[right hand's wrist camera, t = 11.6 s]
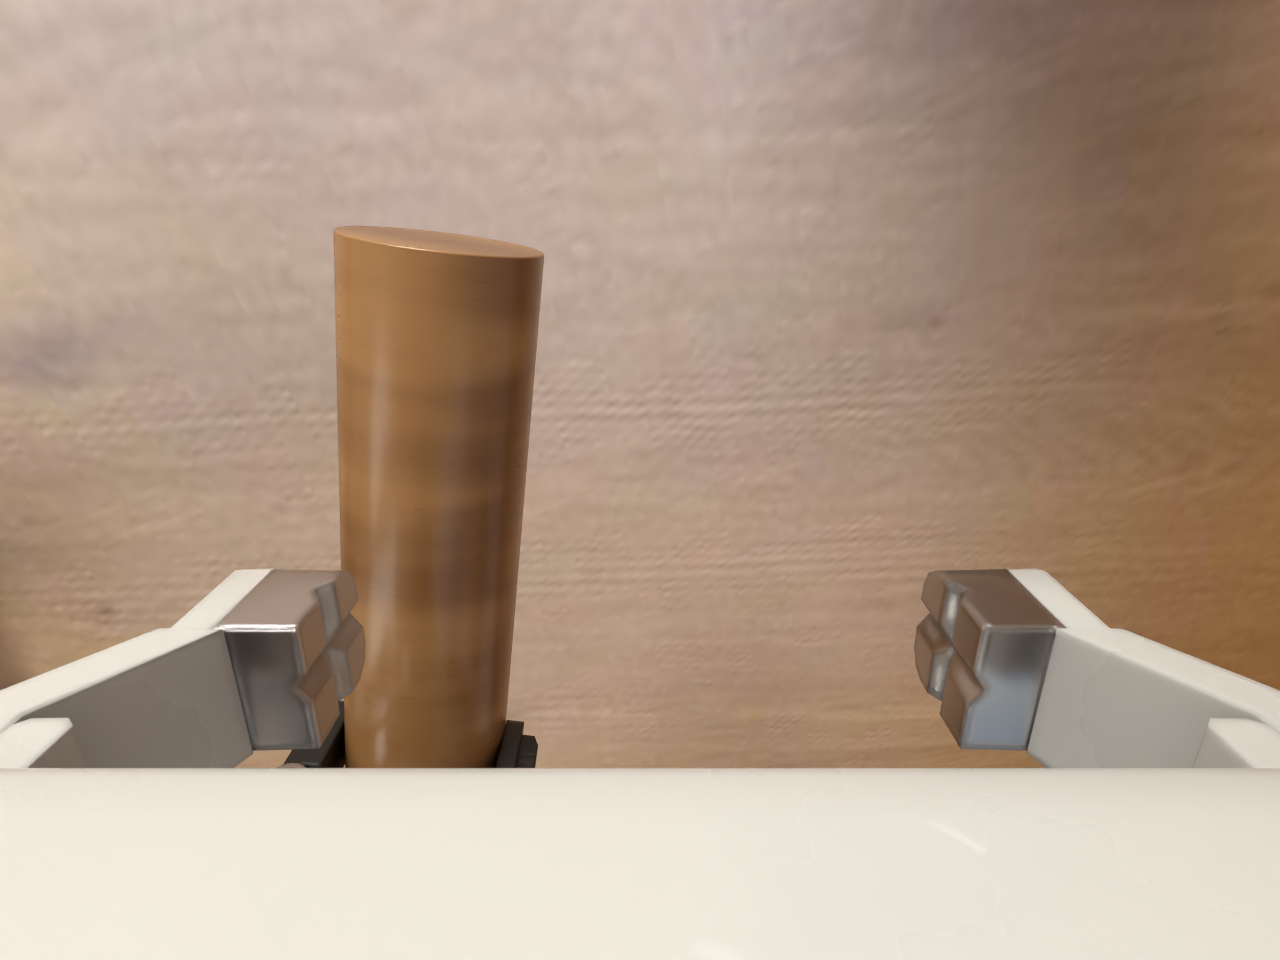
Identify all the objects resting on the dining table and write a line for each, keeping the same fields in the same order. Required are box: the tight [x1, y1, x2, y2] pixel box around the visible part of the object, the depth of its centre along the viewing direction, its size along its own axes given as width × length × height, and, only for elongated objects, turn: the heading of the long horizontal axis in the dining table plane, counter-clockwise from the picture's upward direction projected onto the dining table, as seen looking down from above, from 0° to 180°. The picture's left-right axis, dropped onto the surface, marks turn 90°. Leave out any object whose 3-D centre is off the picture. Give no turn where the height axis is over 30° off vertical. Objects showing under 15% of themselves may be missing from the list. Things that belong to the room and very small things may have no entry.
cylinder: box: [334, 226, 544, 768], centre depth 25 cm, size 23×6×6 cm, turn 172°
